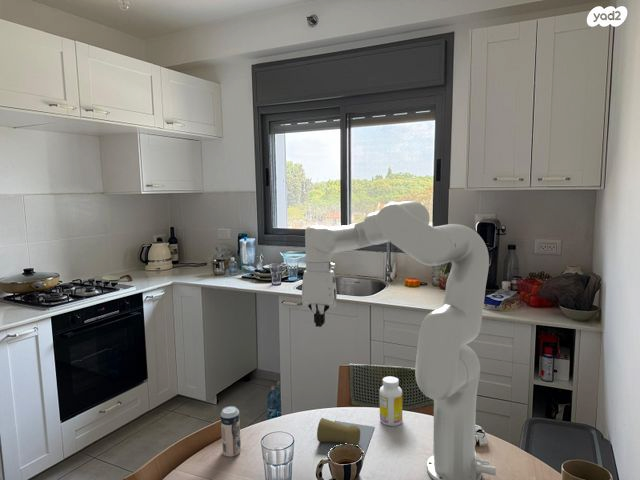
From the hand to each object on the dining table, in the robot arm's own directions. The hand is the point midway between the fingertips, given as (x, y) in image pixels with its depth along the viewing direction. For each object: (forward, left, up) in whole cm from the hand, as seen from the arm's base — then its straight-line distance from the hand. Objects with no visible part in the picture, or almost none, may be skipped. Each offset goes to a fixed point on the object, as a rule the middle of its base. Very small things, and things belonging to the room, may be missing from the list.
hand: (319, 325), depth 132 cm
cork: (-5, +16, -24) cm, 29 cm away
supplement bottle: (-22, +1, -28) cm, 35 cm away
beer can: (+16, +28, -27) cm, 42 cm away
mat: (-12, +14, -27) cm, 33 cm away
